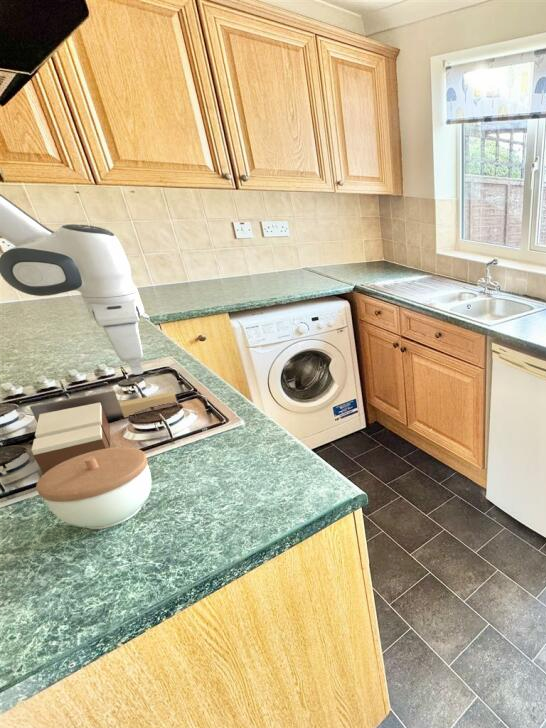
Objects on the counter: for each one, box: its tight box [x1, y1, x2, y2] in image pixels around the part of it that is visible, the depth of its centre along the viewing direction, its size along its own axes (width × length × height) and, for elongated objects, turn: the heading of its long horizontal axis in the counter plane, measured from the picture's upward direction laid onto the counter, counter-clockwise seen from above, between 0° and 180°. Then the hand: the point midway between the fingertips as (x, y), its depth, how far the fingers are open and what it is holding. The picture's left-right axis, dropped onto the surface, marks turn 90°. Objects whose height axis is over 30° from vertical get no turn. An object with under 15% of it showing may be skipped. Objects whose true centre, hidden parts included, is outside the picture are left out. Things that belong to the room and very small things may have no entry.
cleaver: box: [29, 390, 178, 423], centre depth 94 cm, size 23×2×6 cm, turn 131°
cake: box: [34, 403, 111, 447], centre depth 85 cm, size 9×10×6 cm
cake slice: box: [31, 425, 111, 476], centre depth 79 cm, size 9×5×6 cm, turn 131°
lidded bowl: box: [35, 446, 153, 530], centre depth 67 cm, size 13×13×11 cm
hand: (137, 366), depth 95 cm, fingers open, 8 cm apart
